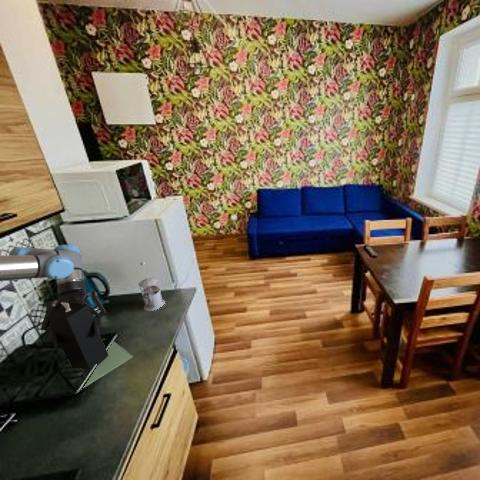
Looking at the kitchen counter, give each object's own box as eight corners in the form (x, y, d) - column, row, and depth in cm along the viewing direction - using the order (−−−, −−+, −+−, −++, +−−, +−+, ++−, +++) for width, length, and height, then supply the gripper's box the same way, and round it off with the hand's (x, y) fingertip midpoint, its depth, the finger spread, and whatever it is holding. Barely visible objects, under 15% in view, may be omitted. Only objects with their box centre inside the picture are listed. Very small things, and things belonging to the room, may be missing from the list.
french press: (151, 313, 130) (138, 268, 120) (137, 307, 135) (122, 263, 125) (169, 302, 138) (158, 259, 129) (155, 296, 143) (143, 255, 133)
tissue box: (91, 353, 106) (66, 294, 95) (109, 355, 105) (85, 296, 94) (72, 369, 99) (42, 308, 88) (90, 372, 98) (63, 310, 87)
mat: (54, 367, 101) (54, 366, 101) (109, 337, 115) (108, 337, 115) (77, 392, 91) (76, 391, 91) (133, 356, 106) (132, 356, 105)
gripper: (111, 278, 110) (119, 330, 104) (34, 295, 98) (39, 355, 92) (106, 272, 103) (114, 328, 97) (23, 290, 92) (27, 353, 86)
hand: (78, 341), depth 95 cm, fingers closed on tissue box, 10 cm apart
